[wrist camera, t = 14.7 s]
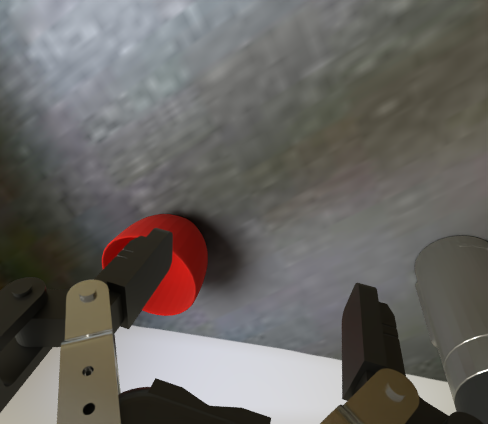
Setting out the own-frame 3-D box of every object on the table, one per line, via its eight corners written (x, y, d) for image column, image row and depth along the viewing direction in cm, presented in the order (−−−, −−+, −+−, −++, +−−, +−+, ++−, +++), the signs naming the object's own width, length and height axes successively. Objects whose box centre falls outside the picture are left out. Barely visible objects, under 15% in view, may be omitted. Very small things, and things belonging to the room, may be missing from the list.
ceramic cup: (107, 216, 51) (62, 254, 42) (195, 185, 44) (161, 224, 35) (150, 278, 55) (117, 324, 47) (235, 259, 48) (214, 309, 40)
